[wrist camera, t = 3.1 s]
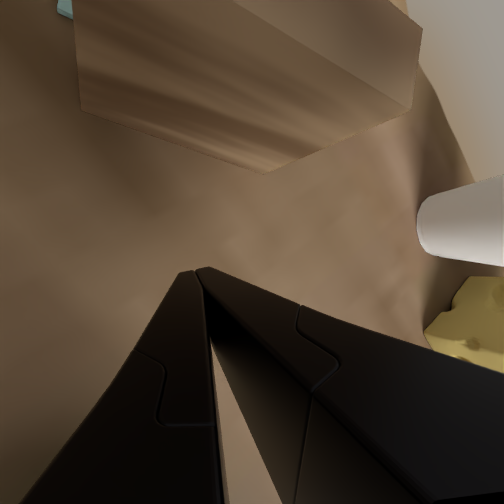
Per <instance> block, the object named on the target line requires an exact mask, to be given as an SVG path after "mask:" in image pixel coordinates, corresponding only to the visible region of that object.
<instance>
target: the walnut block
mask: <svg viewBox="0 0 504 504" xmlns="http://www.w3.org/2000/svg"><path fill="white" fill-rule="evenodd" d="M71 1H72V12H73V24H74V35H75V47H76V58H77V70H78V81H79V93H80V104H81V111H84V112H87V113H90V114H93V115H95V116H98V117H101V118H104V119H107V120H110V121H112V122H115V123H118V124H121V125H124V126H127V127H129V128H132V129H135V130H138V131H141V132H144V133H146V134H149V135H152V136H155V137H158V138H161V139H163V140H166V141H169V142H172V143H175V144H178V145H180V146H183V147H186V148H189V149H192V150H195V151H197V152H200V153H203V154H206V155H209V156H212V157H214V158H217V159H220V160H223V161H226V162H229V163H231V164H234V165H237V166H240V167H243V168H246V169H248V170H251V171H254V172H257V173H260V174H266V173H268V172H270V171H273V170H275V169H277V168H280V167H282V166H284V165H287V164H289V163H291V162H294V161H296V160H298V159H300V158H303V157H305V156H307V155H310V154H312V153H314V152H317V151H319V150H321V149H324V148H326V147H328V146H331V145H333V144H335V143H338V142H340V141H342V140H345V139H347V138H349V137H351V136H354V135H356V134H358V133H361V132H363V131H365V130H368V129H370V128H372V127H375V126H377V125H379V124H382V123H384V122H386V121H389V120H391V119H393V118H396V117H398V116H400V115H402V114H405V113H407V112H409V111H411V108H412V101H413V94H414V87H415V80H416V73H417V66H418V58H419V51H420V45H421V37H422V30H423V29H422V28H421V27H420V26H419V25H418V24H416V23H415V22H414V21H413V20H412V19H410V18H409V17H408V16H407V15H406V14H404V13H403V12H402V11H401V10H399V9H398V8H397V7H396V6H395V5H393V4H392V3H391V2H390V1H388V0H71Z"/></svg>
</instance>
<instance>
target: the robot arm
mask: <svg viewBox="0 0 504 504" xmlns="http://www.w3.org/2000/svg"><path fill="white" fill-rule="evenodd" d="M210 341H211V342H210ZM211 344H212V347H213V349H214V352H215V354H216V356H217V358H218V361H219V363H220V365H221V367H222V370H223V372H224V374H225V376H226V379H227V381H228V383H229V385H230V388H231V390H232V392H233V394H234V396H235V399H236V401H237V403H238V405H239V408H240V410H241V412H242V414H243V417H244V419H245V421H246V423H247V425H248V428H249V430H250V432H251V434H252V437H253V439H254V441H255V443H256V446H257V448H258V450H259V452H260V455H261V457H262V459H263V461H264V463H265V466H266V468H267V470H268V472H269V475H270V477H271V479H272V481H273V484H274V486H275V488H276V490H277V493H278V495H279V497H280V499H281V501H282V504H504V373H502V372H498V371H495V370H492V369H489V368H486V367H483V366H480V365H477V364H474V363H471V362H468V361H464V360H461V359H458V358H455V357H452V356H449V355H446V354H443V353H440V352H437V351H434V350H431V349H427V348H424V347H421V346H418V345H415V344H412V343H409V342H406V341H403V340H400V339H397V338H393V337H390V336H387V335H384V334H381V333H378V332H375V331H372V330H369V329H366V328H363V327H360V326H357V325H354V324H351V323H348V322H345V321H342V320H339V319H336V318H334V317H331V316H329V315H326V314H324V313H321V312H319V311H316V310H314V309H311V308H309V307H306V306H304V305H301V306H300V304H298V303H295V302H293V301H291V300H288V299H286V298H283V297H281V296H279V295H276V294H274V293H272V292H269V291H267V290H264V289H262V288H260V287H257V286H255V285H252V284H250V283H248V282H245V281H243V280H241V279H238V278H236V277H233V276H231V275H229V274H226V273H224V272H222V271H219V270H217V269H214V268H212V267H204V268H199V269H196V270H195V271H193V270H190V271H185V272H180V273H179V274H178V275H177V277H176V278H175V280H174V282H173V283H172V285H171V287H170V288H169V290H168V292H167V293H166V295H165V297H164V298H163V300H162V302H161V303H160V305H159V307H158V308H157V310H156V312H155V313H154V315H153V317H152V318H151V320H150V322H149V323H148V325H147V327H146V328H145V330H144V332H143V333H142V335H141V337H140V338H139V340H138V342H137V344H136V345H135V347H134V349H133V350H132V351H131V352H130V354H129V356H128V357H127V359H126V361H125V362H124V364H123V365H122V367H121V369H120V370H119V372H118V373H117V375H116V376H115V378H114V379H113V381H112V382H111V384H110V385H109V387H108V388H107V389H106V391H105V392H104V393H103V395H102V396H101V398H100V399H99V400H98V402H97V403H96V404H95V406H94V407H93V408H92V410H91V411H90V412H89V414H88V415H87V416H86V418H85V419H84V420H83V421H82V423H81V424H80V425H79V427H78V428H77V429H76V431H75V432H74V433H73V434H72V436H71V437H70V438H69V440H68V441H67V442H66V443H65V445H64V446H63V447H62V449H61V450H60V451H59V453H58V454H57V455H56V456H55V458H54V459H53V460H52V462H51V463H50V464H49V465H48V467H47V468H46V469H45V471H44V472H43V473H42V475H41V476H40V477H39V478H38V480H37V481H36V482H35V484H34V485H33V486H32V487H31V489H30V490H29V491H28V493H27V494H26V495H25V497H24V498H23V499H22V500H21V502H20V503H19V504H230V503H229V495H228V486H227V477H226V469H225V460H224V452H223V443H222V435H221V426H220V418H219V409H218V401H217V392H216V384H215V375H214V366H213V358H212V350H211Z"/></svg>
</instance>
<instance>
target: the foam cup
mask: <svg viewBox="0 0 504 504" xmlns="http://www.w3.org/2000/svg"><path fill="white" fill-rule="evenodd" d="M416 230H417V234H418V238H419V242H420V244H421V245H422V247H423V248H424V250H425V251H426V252H427V253H429V254H431V255H433V256H439V257H444V258H451V259H457V260H464V261H470V262H477V263H483V264H490V265H496V266H503V267H504V174H503V175H500V176H496V177H493V178H489V179H486V180H482V181H479V182H476V183H472V184H469V185H465V186H462V187H458V188H455V189H452V190H448V191H445V192H441V193H438V194H435V195H433V196H429V197H428V198H427V199H426V200H425V201H424V202H422V204H421V206H420V209H419V212H418V214H417V226H416Z"/></svg>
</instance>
